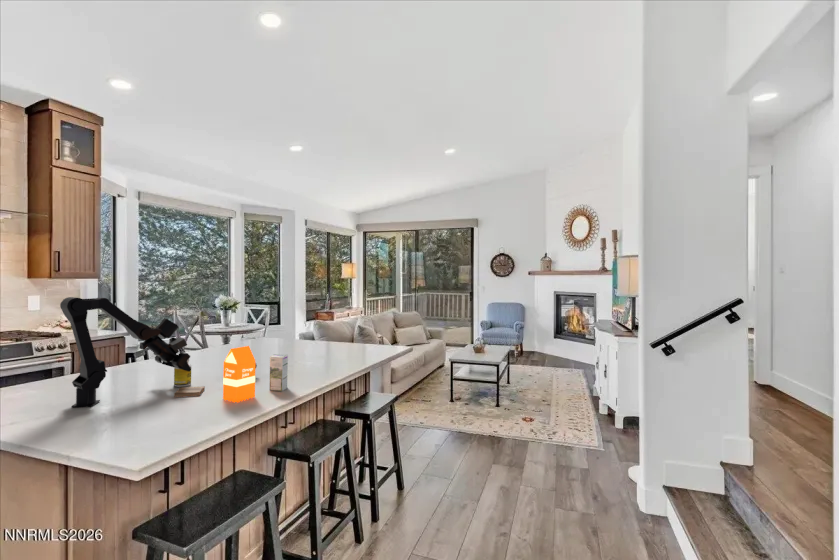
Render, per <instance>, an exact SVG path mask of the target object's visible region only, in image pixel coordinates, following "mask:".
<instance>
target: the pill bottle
mask: <svg viewBox="0 0 839 560" xmlns="http://www.w3.org/2000/svg"><path fill="white" fill-rule="evenodd" d="M189 362H190V358H189V359H188V360H187V363H188V365H189V366H190V368H191V369H192V364H191V363H189ZM173 369H174V370H173V385H174V387H178V388H180V387H190V385H191V384H192V370H191V371H190V372H189V371H186V370H182V369H179V368H175V367H173Z"/></svg>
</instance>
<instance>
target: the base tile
mask: <svg viewBox="0 0 839 560" xmlns="http://www.w3.org/2000/svg"><path fill="white" fill-rule="evenodd" d="M204 391H205V386H204V385H202V386H185V387H178V389H177V390H176V391H175V392H174V393H173V397H174V398H182V397H183V396H188V397H200V396H201V395H202V394H203V392H204ZM200 394H201V395H200ZM183 398H184V397H183Z"/></svg>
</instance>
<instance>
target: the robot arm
mask: <svg viewBox="0 0 839 560" xmlns="http://www.w3.org/2000/svg"><path fill="white" fill-rule="evenodd" d="M59 306H60V307H59V308H60V310H61V312H62V313H63V315H64V317H65V318H66V319H67V321H68V322H69V324H70V326H71V329H72V333H73V337H74V340H75V343H76V347H77V351H78V354H79V359H80V363H79V364H80V365H79V375H77V377H75V379H74V380H72V382H71V383H72V385H73V387H74V388H76V389H75V403H74V404H72V405H71V408H83V407H84V408H85V407H86V406H88V407H93V405H94V406H95V405H97V404H98V403H100V402H101V399H97V389H99V388H100V386H101V383H102V382H103V380H104V379H105V378H106V372H107V373H108V370H107V368H106V363H105V361H104V360H101V359H98V358H97V356H96V353H95V349H94V344H93V341H92V337H91V333H90V331H89V327H88V324H87V317H88V311H93V310H100V311H102V312H103V313H104V314H106V315H107V316H109V318H111V319H112V320H114V321H115V322H117V323H118V324H120V325H121V326H122V327H123V328H124V329H125V330H126V332H127V333H128V334H129V336H131V337H132V338H133V339H135V340H140V341H139V350H143V351H144V350H147V349H149V350H150V351H151V352H152V353H153V354H152V355H154V361H155V362H156V363H158V364H161V365H164V366H167V367H171V368H174V367H175V368H179V369H182V370H186V371H189V372H190V371H191V372H192V367H191V368H190V366H189V365H188V363H189V362H188V363H187V360H188V359H189V360H190V359H191V355H190V354H189V353H187V352H180V350H181V349H182V348H184V347H186V346H188V344H187V341H186V339H185V338H184V337H172V336H173V335H174V334H175V332H176V331H177V330H178V329H179V328H180V327H179V325H178V324H176V323H174V322H173V321H171V320H169V319H168V318H163V319H162V320H161V322H160V323H159V324H158V325H156V327H152V326H150V325H147V324H146V323H143V322H141V321H138V320H137V319H134V318H132V317H131V316H130V315H128V313H126V312H125V311H124V310H122V309H121V308H119V307H118V306H117V305H115V304H114V303H113V302H111V301H110V299H108V298H106V297H95V298H81V297H75V296H70V297H69V296H68V297H66V298H64V299H63V300H62V301H61V302H60V305H59ZM165 339H169V341H168V343H167V342H166V341H165ZM142 341H143V342H142ZM99 401H100V402H99ZM96 403H97V404H96Z"/></svg>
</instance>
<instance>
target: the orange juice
mask: <svg viewBox="0 0 839 560" xmlns="http://www.w3.org/2000/svg"><path fill="white" fill-rule="evenodd" d="M253 354H254V353H253V352H252V350H251V348H250V345H246V346H240V347H239V346H238V347H235V348H230V350H229V351H228V353H227V355H226V357H225V359H224V361H223V375H222V376H223V379H222V382H223V383H222V384H223V387H222V390H223V391H222V393H223V394H222V400H223V399H224V401H226V400H228V402H231V401H232V403H235V402H237V403H241V402H244V401H246V399H247V400H249V398H251V399H254V398H255V397H256V369H255V362H256V359H255V357H254V355H253ZM253 397H254V398H253ZM243 400H244V401H243ZM240 401H241V402H240Z"/></svg>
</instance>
